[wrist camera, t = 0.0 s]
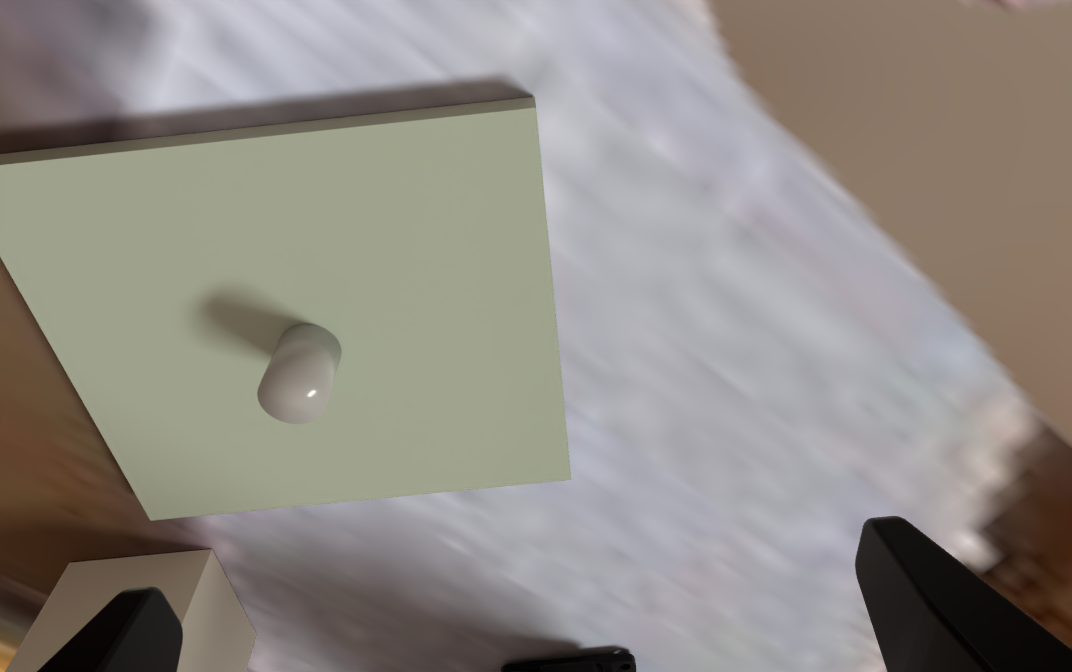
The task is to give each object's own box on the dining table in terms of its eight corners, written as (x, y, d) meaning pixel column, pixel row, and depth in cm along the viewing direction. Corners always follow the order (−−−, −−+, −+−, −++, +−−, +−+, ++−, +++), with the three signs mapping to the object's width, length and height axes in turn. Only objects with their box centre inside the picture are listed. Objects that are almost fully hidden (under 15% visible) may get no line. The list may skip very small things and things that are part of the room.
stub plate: (569, 461, 29) (576, 531, 26) (160, 500, 29) (122, 575, 26) (534, 96, 21) (540, 139, 18) (-28, 157, 21) (-112, 209, 18)
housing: (256, 635, 34) (223, 746, 30) (127, 647, 34) (76, 760, 30) (212, 548, 30) (167, 661, 26) (69, 562, 31) (1, 676, 26)
